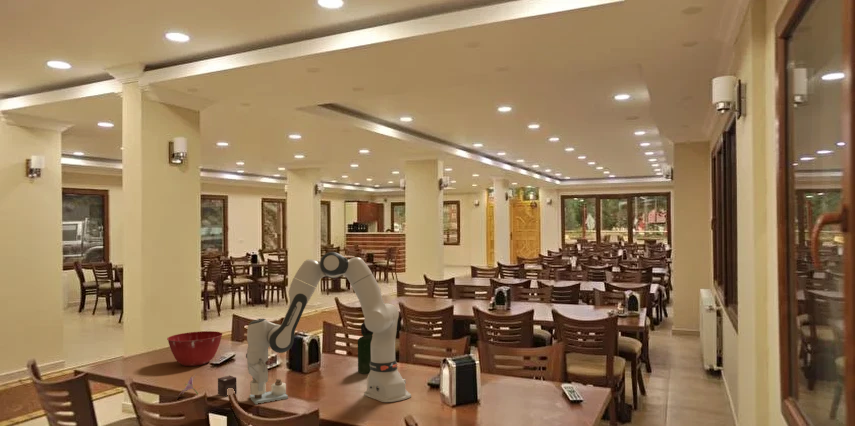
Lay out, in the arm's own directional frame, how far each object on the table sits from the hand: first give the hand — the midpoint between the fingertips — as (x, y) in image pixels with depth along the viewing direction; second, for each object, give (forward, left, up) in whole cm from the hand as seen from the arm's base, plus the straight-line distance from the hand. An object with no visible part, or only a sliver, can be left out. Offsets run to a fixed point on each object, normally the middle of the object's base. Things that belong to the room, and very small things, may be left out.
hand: (258, 388), depth 237 cm
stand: (0, -5, -5) cm, 7 cm away
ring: (0, 0, -2) cm, 2 cm away
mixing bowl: (+86, +12, -5) cm, 87 cm away
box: (+17, +9, -5) cm, 20 cm away
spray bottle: (+14, -60, -5) cm, 61 cm away
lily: (+25, +25, -5) cm, 35 cm away
